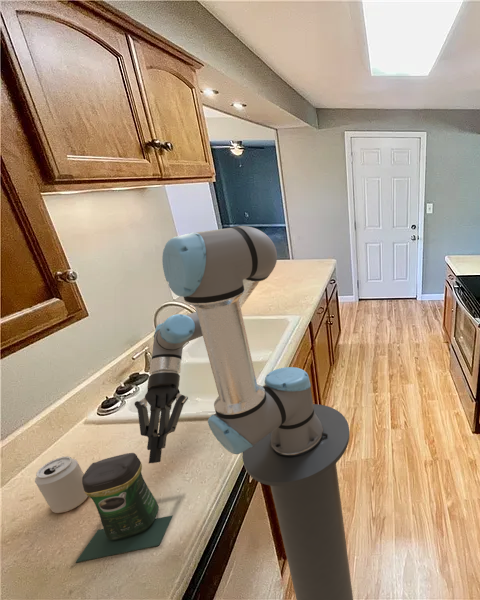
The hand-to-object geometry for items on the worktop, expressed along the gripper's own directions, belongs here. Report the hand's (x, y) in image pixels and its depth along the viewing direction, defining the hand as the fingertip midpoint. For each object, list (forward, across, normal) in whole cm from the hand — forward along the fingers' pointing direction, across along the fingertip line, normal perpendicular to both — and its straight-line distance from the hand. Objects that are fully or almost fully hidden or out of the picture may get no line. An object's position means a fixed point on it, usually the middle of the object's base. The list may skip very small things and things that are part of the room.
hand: (154, 462), depth 87 cm
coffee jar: (+13, 0, +5) cm, 14 cm away
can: (+6, +19, -2) cm, 20 cm away
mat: (+14, 0, +6) cm, 15 cm away
